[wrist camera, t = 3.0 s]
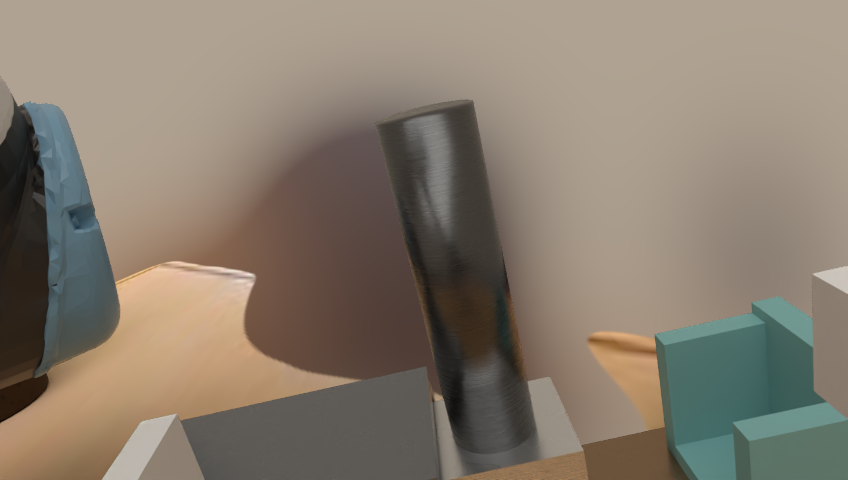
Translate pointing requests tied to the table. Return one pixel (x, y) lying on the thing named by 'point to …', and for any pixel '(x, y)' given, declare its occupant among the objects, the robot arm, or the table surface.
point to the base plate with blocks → (373, 438)
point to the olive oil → (20, 395)
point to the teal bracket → (749, 399)
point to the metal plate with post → (471, 306)
